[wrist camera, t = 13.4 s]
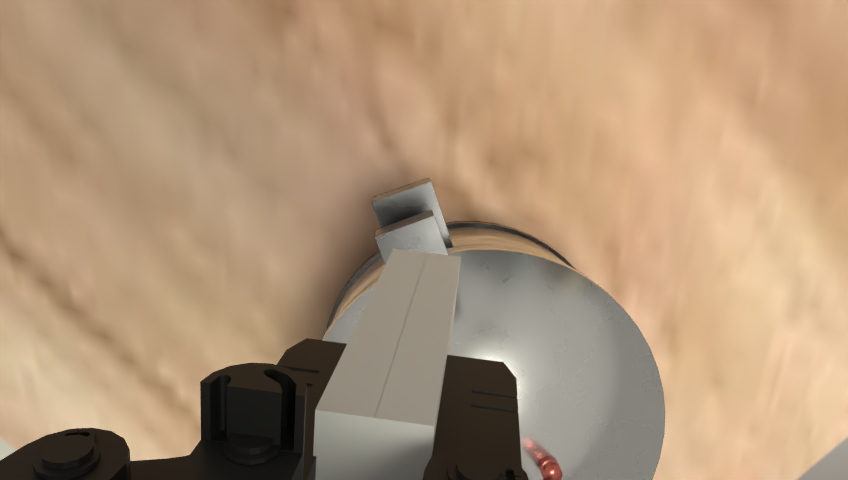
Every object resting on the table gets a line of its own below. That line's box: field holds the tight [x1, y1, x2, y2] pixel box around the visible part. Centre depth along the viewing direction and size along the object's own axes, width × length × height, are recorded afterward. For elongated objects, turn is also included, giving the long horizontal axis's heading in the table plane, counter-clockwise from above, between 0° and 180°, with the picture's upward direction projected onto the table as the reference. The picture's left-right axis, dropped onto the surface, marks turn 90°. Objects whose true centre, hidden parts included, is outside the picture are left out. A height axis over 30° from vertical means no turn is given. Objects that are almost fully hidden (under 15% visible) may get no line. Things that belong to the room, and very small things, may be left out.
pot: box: [326, 178, 575, 331], centre depth 39 cm, size 31×18×8 cm, turn 19°
